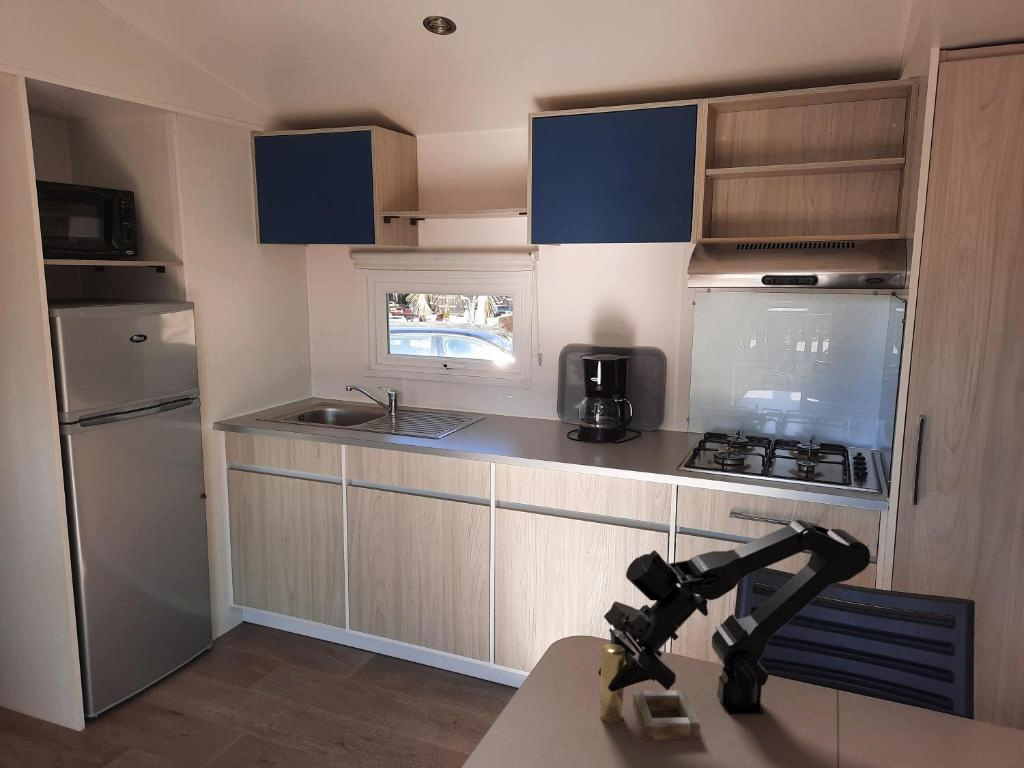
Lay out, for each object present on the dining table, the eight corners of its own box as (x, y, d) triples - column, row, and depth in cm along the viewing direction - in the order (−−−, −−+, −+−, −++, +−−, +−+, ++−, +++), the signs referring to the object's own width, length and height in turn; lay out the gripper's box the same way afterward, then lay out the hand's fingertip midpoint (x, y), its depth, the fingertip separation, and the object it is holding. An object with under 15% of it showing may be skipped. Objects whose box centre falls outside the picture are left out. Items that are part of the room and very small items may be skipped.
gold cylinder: (620, 708, 129) (622, 643, 127) (624, 722, 125) (627, 656, 123) (597, 708, 129) (600, 644, 127) (601, 723, 125) (603, 656, 123)
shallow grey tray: (683, 705, 130) (684, 689, 130) (699, 739, 121) (700, 722, 121) (632, 706, 130) (633, 690, 129) (644, 740, 121) (645, 724, 120)
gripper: (616, 566, 133) (557, 629, 132) (662, 615, 115) (594, 688, 114) (653, 601, 136) (596, 663, 135) (704, 654, 118) (638, 725, 118)
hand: (604, 682), depth 126 cm, fingers closed on gold cylinder, 4 cm apart
